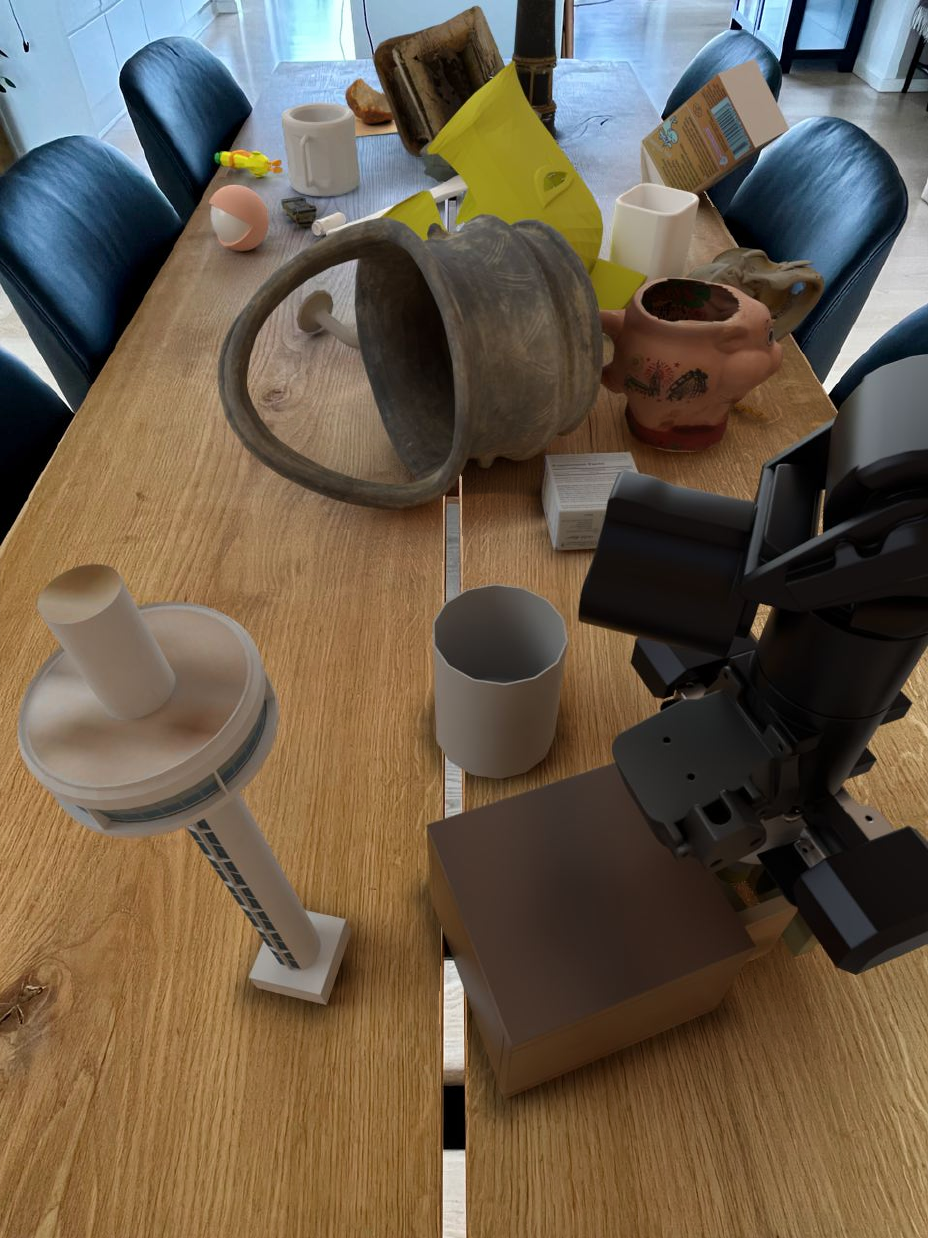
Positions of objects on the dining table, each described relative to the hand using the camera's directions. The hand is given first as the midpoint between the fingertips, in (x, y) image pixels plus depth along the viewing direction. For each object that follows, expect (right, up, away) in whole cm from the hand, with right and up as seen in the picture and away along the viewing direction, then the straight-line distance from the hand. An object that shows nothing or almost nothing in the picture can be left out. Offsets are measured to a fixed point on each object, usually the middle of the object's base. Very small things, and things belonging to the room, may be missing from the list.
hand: (736, 848), depth 46 cm
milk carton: (+25, +83, +68) cm, 110 cm away
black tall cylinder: (-3, +98, +101) cm, 140 cm away
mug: (-37, +79, +82) cm, 120 cm away
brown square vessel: (-16, +96, +83) cm, 129 cm away
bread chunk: (-30, +101, +107) cm, 151 cm away
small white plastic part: (-33, +69, +69) cm, 103 cm away
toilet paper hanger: (-23, +49, +55) cm, 77 cm away
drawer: (0, -3, +4) cm, 5 cm away
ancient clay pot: (-7, +39, +31) cm, 50 cm away
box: (-4, +20, +23) cm, 31 cm away
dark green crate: (-39, +72, +73) cm, 109 cm away
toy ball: (-45, +63, +68) cm, 103 cm away
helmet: (-20, +66, +45) cm, 83 cm away
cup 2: (+5, +46, +52) cm, 69 cm away
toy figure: (-44, +83, +84) cm, 126 cm away
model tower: (-24, -7, +1) cm, 25 cm away
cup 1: (-13, +5, +13) cm, 19 cm away
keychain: (+13, +34, +41) cm, 55 cm away
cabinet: (-9, -6, +2) cm, 11 cm away
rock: (-12, +83, +87) cm, 121 cm away
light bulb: (0, -2, +2) cm, 3 cm away
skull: (+18, +44, +41) cm, 63 cm away
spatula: (-24, +73, +74) cm, 107 cm away
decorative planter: (+4, +32, +38) cm, 49 cm away
